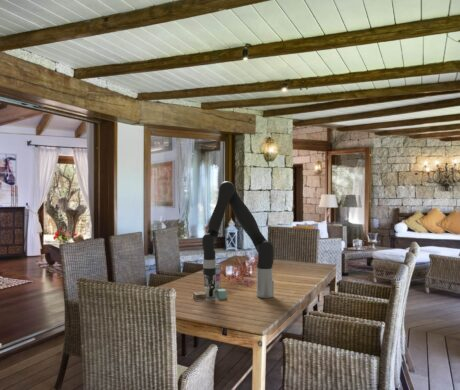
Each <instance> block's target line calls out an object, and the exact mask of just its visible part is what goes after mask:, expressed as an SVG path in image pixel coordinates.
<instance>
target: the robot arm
mask: <svg viewBox="0 0 460 390" xmlns="http://www.w3.org/2000/svg"><path fill="white" fill-rule="evenodd" d="M228 205H229V206H230V208H231V210H232V212H233V214H234V216H235V219H236V220H237V222H238V224H239V225H240V226H241V228H242V229H243V231H244V232H245V234H247V236H248V237H249V238H250V240H251V241H252V244H253V246H254V248H255V250H256V252H257V257H258V258H257V263H256V297H257V298H261V299H271V298H273V297H274V296H275V295H274V291H275V290H274V289H275V287H274V286H275V284H274V280H273V265H274V253H275V249H274V245H273V243H271V242H270V241H268V240H267V238H266V237H265V236H264V235H263V234H262V232H261V230H260V228H259V225H258V223H257V221H256V218H255V216H254V215H253V213H252V212H251V211H250V209H249V208H248V207H247V205H246V204H245V203H244V201H243V200H242V199H241V197H240V195H239V194H238V191H237V189H236V188H235V185H234V184H233V182H231V181H230V180H229V181H228V180H226V181H224V180H223V181H222V182H221V183H220V185H219V187H218V197H217V201H216V203H215V207H214V209H213V211H212V214H211V216H210V219H209V222H208V226H207V227H208V230H207V233H205V234H204V235H203V236H202V241H201V242H202V243H201V244H202V250H203V261H202V262H203V263H202V264H203V265H202V275H203V280H204V282H205V286H206V287H208V286H209V296H210V297H212V296H213V290H214V289H215V280H214V278H213V275H215V274H216V264H217V261H216V249H215V247H214V246H215V245H214V244H215V243H216V242H217V240H218V237H219V232H220V229H221V225H222V223H223V219H224V217H225V213H226V209H227V207H228ZM205 275H206V276H205ZM204 282H203V283H204ZM211 287H212V288H211Z"/></svg>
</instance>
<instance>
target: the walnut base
mask: <svg viewBox="0 0 460 390" xmlns="http://www.w3.org/2000/svg"><path fill="white" fill-rule="evenodd" d="M192 296H193V297H192V298H193V299H194V300H203V299H206V294H205V293H204V291H195V292H193V293H192Z"/></svg>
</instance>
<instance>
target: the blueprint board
mask: <svg viewBox="0 0 460 390" xmlns="http://www.w3.org/2000/svg"><path fill="white" fill-rule="evenodd" d="M191 298H193V295H191ZM194 300H195V299H194ZM217 300H220V299H219V298H217V292H215V296H214V297H206V299H203V300H195V301H196V302H209V301H217ZM223 300H226V298H224V299H223Z"/></svg>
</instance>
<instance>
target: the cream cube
mask: <svg viewBox="0 0 460 390" xmlns="http://www.w3.org/2000/svg"><path fill="white" fill-rule="evenodd" d="M203 288H204V289H203V290H204V291H203V292H204V293H205V294H206V297H210V296H209V286H208V287H204V286H203ZM211 288H212V287H211ZM215 293H216V291H215V289H214V290H213V296H212V297H214V296H215Z"/></svg>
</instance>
